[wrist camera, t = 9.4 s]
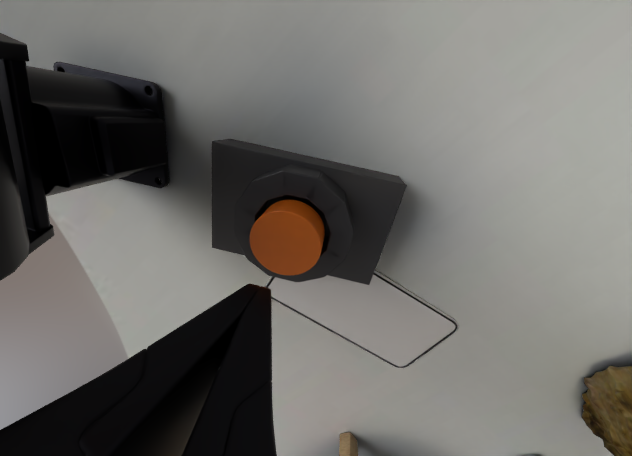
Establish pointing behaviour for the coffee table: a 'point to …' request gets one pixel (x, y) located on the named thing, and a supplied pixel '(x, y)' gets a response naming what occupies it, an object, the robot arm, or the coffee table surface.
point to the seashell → (610, 408)
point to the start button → (288, 237)
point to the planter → (348, 445)
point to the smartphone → (369, 315)
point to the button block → (308, 187)
